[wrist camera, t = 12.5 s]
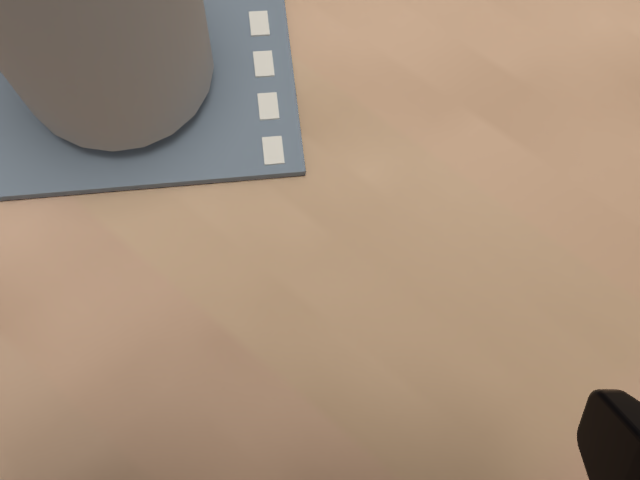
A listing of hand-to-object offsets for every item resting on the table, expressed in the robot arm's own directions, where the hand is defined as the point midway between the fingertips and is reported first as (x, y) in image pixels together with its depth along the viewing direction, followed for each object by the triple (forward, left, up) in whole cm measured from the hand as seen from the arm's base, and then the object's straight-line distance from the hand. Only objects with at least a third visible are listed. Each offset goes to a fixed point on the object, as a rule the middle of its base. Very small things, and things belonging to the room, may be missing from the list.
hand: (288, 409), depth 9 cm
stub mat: (+3, +15, -14) cm, 20 cm away
